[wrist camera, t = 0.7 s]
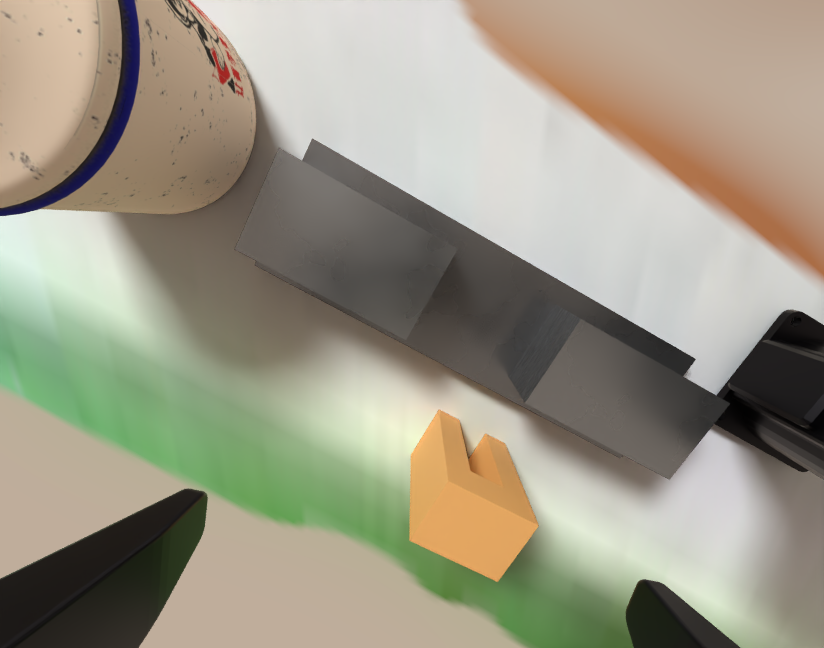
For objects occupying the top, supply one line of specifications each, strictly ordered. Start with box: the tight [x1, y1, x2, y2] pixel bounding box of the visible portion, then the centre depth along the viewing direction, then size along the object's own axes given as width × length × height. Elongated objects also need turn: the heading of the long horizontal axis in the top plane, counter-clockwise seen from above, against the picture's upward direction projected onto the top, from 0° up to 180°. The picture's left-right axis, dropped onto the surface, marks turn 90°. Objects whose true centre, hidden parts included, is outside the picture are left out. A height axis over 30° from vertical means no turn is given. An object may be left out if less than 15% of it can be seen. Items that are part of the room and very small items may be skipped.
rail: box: [235, 139, 730, 479], centre depth 18 cm, size 20×6×4 cm, turn 61°
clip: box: [410, 410, 539, 582], centre depth 19 cm, size 4×3×6 cm
